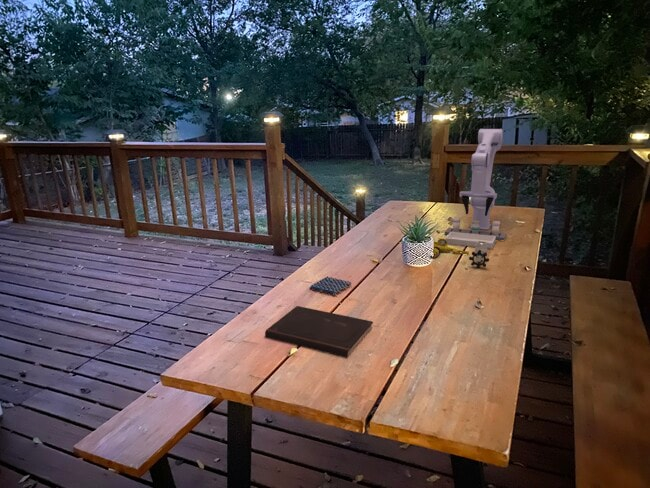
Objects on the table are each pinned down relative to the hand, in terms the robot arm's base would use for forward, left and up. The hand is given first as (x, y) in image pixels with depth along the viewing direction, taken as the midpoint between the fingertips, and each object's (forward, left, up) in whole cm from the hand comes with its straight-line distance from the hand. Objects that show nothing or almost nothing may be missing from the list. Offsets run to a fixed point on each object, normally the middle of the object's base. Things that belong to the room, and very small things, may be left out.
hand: (476, 214), depth 190 cm
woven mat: (+74, -32, -10) cm, 81 cm away
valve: (+33, +7, -10) cm, 35 cm away
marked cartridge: (0, 0, -9) cm, 9 cm away
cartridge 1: (0, -8, -9) cm, 12 cm away
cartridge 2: (0, +8, -9) cm, 12 cm away
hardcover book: (+101, -22, -10) cm, 104 cm away
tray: (+11, 0, -9) cm, 14 cm away
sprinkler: (+27, -8, -10) cm, 30 cm away
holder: (0, 0, -9) cm, 9 cm away
